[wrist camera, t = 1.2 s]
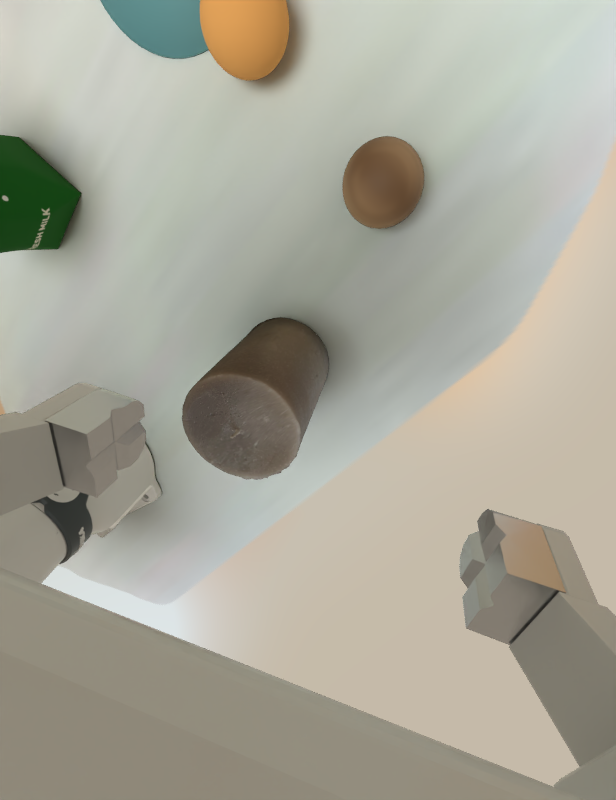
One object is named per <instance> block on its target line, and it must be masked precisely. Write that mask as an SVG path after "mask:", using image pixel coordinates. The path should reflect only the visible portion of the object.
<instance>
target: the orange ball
mask: <svg viewBox="0 0 616 800" xmlns="http://www.w3.org/2000/svg"><path fill="white" fill-rule="evenodd" d="M200 23H201V29H202V33H203V36H204V39H205V42H206V45H207V47H208V49H209V51H210V53H211V54H212V56H213V58H214V59H215V60H216V62H217V63H218V64H219V65H220V66H221V67H222V68H223V69H224V70H225V71H226V72H227V73H229V74H230V75H232V76H234V77H236V78H239V79H242V80H257V79H260V78H263V77H265V76H266V75H268V74H269V73H270V72H272V71H273V70H274V69H275V68H276V66H277V65H278V64H279V62H280V60H281V59H282V57H283V54H284V52H285V49H286V46H287V41H288V36H289V14H288V8H287V3H286V0H200Z"/></svg>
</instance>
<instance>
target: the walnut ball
mask: <svg viewBox="0 0 616 800" xmlns="http://www.w3.org/2000/svg"><path fill="white" fill-rule="evenodd" d="M423 185H424V171H423V166H422V163H421V160H420V158H419V156H418V154H417V153H416V151H415V150H414V149H413V148H412V146H411V145H409V144H408V143H407V142H405V141H403V140H402V139H399V138H396V137H389V136H385V137H378V138H375V139H372V140H370V141H368V142H367V143H365V144H364V145H362V146H361V147H360V148H359V149H358V150H357V151H356V152H355V153H354V155H353V156H352V157H351V159H350V161H349V162H348V165H347V167H346V169H345V173H344V177H343V186H342V187H343V197H344V201H345V204H346V206H347V209H348V210H349V212H350V213H351V215H352V216H353V217H354V218H355V219H356V220H357V221H358V222H360V223H361V224H363V225H365V226H367V227H370V228H377V229H381V228H388V227H392V226H394V225H396V224H398V223H400V222H401V221H403V220H404V219H405V218H407V217H408V216H409V215H410V214H411V212H412V211H413V210H414V208H415V207H416V205H417V203H418V202H419V199H420V197H421V194H422V190H423Z"/></svg>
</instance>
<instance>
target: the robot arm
mask: <svg viewBox="0 0 616 800" xmlns="http://www.w3.org/2000/svg"><path fill="white" fill-rule="evenodd" d="M143 417H144V407H143V404H142V403H141V402H140V401H138V400H136V399H133V398H130V397H127V396H124V395H121V394H118V393H115V392H112V391H109V390H106V389H101V388H99V387H96V386H93V385H90V384H87V383H77V384H75V385H74V386H72V387H70V388H68V389H66V390H65V391H63V392H61V393H59V394H57V395H56V396H54V397H52V398H50V399H48V400H46V401H45V402H43V403H41V404H39V405H37V406H36V407H34V408H32V409H30V410H28V411H26V412H25V413H23V414H21V413H18V412H14V413H8V414H4V415H0V800H616V616H615V615H614V614H613V613H612V612H611V611H610V610H609V609H608V608H607V607H604V606H601V605H599V604H598V602H597V600H596V598H595V595H594V593H593V591H592V588H591V586H590V584H589V582H588V579H587V577H586V575H585V572H584V570H583V568H582V566H581V563H580V561H579V559H578V557H577V554H576V552H575V550H574V547H573V545H572V543H571V541H570V538H569V536H567V534H566V533H564V532H563V531H561V530H557V529H554V528H551V527H547V526H544V525H540V524H534V523H531V522H528V521H525V520H521V519H518V518H515V517H512V516H508V515H505V514H502V513H498V512H495V511H492V510H489V509H487V510H486V511H485V512H483V513H482V515H481V516H480V518H479V520H478V521H477V522H478V528H479V531H478V532H475V533H473V534H470V535H469V536H468V538H467V540H466V541H465V543H464V545H463V548H462V552H461V556H460V578H461V579H462V581H463V582H464V584H465V585H466V586H467V588H468V590H467V591H466V593H465V594H464V596H463V606H464V615H465V623H466V628H467V629H469V630H472V631H475V632H477V633H480V634H482V635H485V636H488V637H490V638H493V639H496V640H498V641H501V642H503V643H506V644H508V645H510V646H509V648H510V650H511V651H512V653H513V655H514V656H515V658H516V660H517V661H518V663H519V665H520V666H521V668H522V670H523V672H524V673H525V675H526V677H527V678H528V680H529V682H530V683H531V685H532V687H533V688H534V690H535V692H536V694H537V695H538V697H539V699H540V700H541V702H542V704H543V706H544V707H545V709H546V711H547V712H548V714H549V716H550V717H551V719H552V721H553V722H554V724H555V726H556V727H557V729H558V731H559V733H560V734H561V736H562V738H563V739H564V741H565V743H566V744H567V746H568V748H569V749H570V751H571V753H572V755H573V756H574V758H575V760H576V761H577V763H578V765H579V766H580V767H579V768H577V769H576V770H575V771H573V772H571V773H569V774H568V775H566V776H565V777H563V778H561V779H560V780H559V781H558V782H557V783H556V784H555V785H554V787H552V786H550V785H547V784H545V783H542V782H540V781H537V780H535V779H532V778H529V777H527V776H524V775H522V774H519V773H517V772H514V771H512V770H509V769H507V768H504V767H502V766H499V765H497V764H494V763H492V762H489V761H486V760H484V759H481V758H479V757H476V756H474V755H471V754H469V753H466V752H464V751H461V750H459V749H456V748H454V747H451V746H448V745H446V744H444V743H441V742H439V741H436V740H434V739H431V738H429V737H426V736H424V735H421V734H418V733H416V732H413V731H411V730H408V729H406V728H403V727H401V726H398V725H396V724H393V723H391V722H388V721H386V720H383V719H380V718H378V717H376V716H373V715H370V714H368V713H366V712H363V711H360V710H358V709H356V708H353V707H350V706H348V705H346V704H343V703H341V702H338V701H335V700H333V699H330V698H328V697H325V696H323V695H320V694H318V693H315V692H313V691H310V690H308V689H305V688H303V687H300V686H298V685H295V684H293V683H290V682H288V681H285V680H283V679H280V678H278V677H275V676H272V675H270V674H267V673H265V672H263V671H260V670H258V669H255V668H252V667H250V666H248V665H245V664H243V663H240V662H237V661H235V660H232V659H230V658H227V657H225V656H222V655H220V654H217V653H215V652H212V651H210V650H207V649H205V648H202V647H199V646H197V645H195V644H192V643H189V642H187V641H184V640H182V639H179V638H177V637H174V636H172V635H169V634H166V633H164V632H161V631H159V630H157V629H154V628H151V627H149V626H146V625H144V624H141V623H139V622H136V621H134V620H131V619H129V618H126V617H124V616H121V615H119V614H116V613H113V612H111V611H108V610H106V609H104V608H101V607H99V606H96V605H94V604H91V603H88V602H86V601H83V600H81V599H78V598H76V597H73V596H71V595H68V594H66V593H63V592H61V591H58V590H56V589H53V588H51V587H48V586H46V585H43V584H41V583H42V582H43V581H44V580H45V579H46V578H47V576H48V575H49V574H50V573H51V572H52V571H53V570H54V568H56V567H57V565H58V564H61V563H64V562H66V561H67V560H68V559H69V558H70V557H71V556H72V555H74V554H75V553H76V552H77V551H78V550H79V549H80V548H81V547H82V546H83V544H84V543H85V542H86V540H87V539H88V538H89V537H90V535H93V534H96V533H97V534H98V535H99V536H100V537H104V536H106V535H107V534H108V533H109V532H110V531H112V530H113V529H114V528H115V527H116V526H117V525H118V523H119V522H120V521H121V520H122V518H123V517H124V516H125V515H127V514H129V513H131V512H133V511H135V510H137V509H139V508H141V507H143V506H145V505H147V504H149V503H151V502H153V501H155V500H157V499H158V498H159V497H160V496H161V489H160V487H159V485H158V483H157V481H156V479H155V471H154V462H153V459H152V456H151V453H150V451H149V449H148V448H147V446H146V444H145V441H146V431H145V429H144V428H143V426H142V425H141V423H140V422H139V421H140V420H141V419H142V418H143Z"/></svg>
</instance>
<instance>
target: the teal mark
mask: <svg viewBox="0 0 616 800" xmlns="http://www.w3.org/2000/svg"><path fill="white" fill-rule="evenodd" d="M101 2H102V4H103V6H104V8H105V9H106V11H107V12H108V14H109V15H110V17H111V18H112V19H113V21H114V22H115V23H116V24H117V25H118V27H119V28H120V29H121V30H122V31H123V32H124V33H125V34H126V35H127V36H128V37H129V38H130V39H131V40H133V41H134V42H135V43H137V44H138V45H139V46H141V47H142V48H144V49H146V50H148V51H150V52H152V53H154V54H157V55H160V56H162V57H168V58H188V57H193V56H196V55H198V54H201V53H203V52H205V51H207V50H208V47H207V45H206V42H205V39H204V36H203V33H202V29H201V23H200V0H101Z"/></svg>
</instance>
